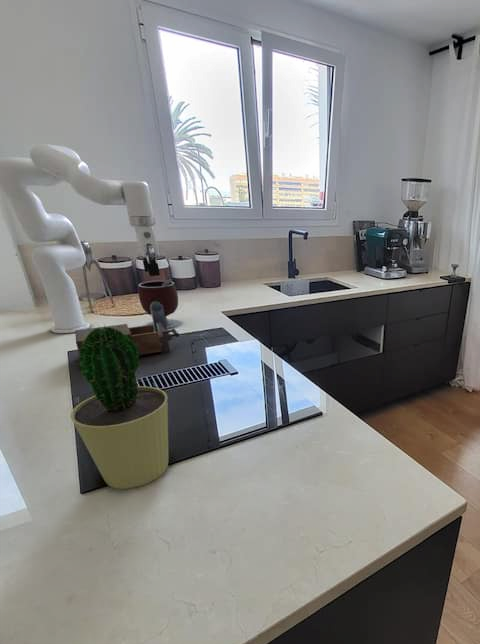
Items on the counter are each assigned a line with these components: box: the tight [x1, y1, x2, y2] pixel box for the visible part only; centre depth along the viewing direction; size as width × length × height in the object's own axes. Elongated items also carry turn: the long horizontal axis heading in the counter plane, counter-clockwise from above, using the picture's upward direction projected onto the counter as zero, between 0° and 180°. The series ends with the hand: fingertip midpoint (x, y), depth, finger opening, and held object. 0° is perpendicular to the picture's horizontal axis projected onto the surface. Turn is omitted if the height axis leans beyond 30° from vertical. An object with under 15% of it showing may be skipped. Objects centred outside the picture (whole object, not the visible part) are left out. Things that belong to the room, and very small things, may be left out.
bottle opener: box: [150, 301, 173, 342], centre depth 145 cm, size 5×6×14 cm
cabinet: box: [74, 323, 132, 356], centre depth 127 cm, size 15×13×9 cm
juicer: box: [80, 241, 115, 313], centre depth 177 cm, size 10×11×30 cm
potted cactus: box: [70, 324, 170, 490], centre depth 72 cm, size 15×15×30 cm
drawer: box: [128, 323, 180, 356], centre depth 134 cm, size 18×11×7 cm, turn 124°
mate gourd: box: [138, 278, 181, 330], centre depth 158 cm, size 16×14×20 cm
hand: (152, 273), depth 138 cm, fingers open, 9 cm apart
